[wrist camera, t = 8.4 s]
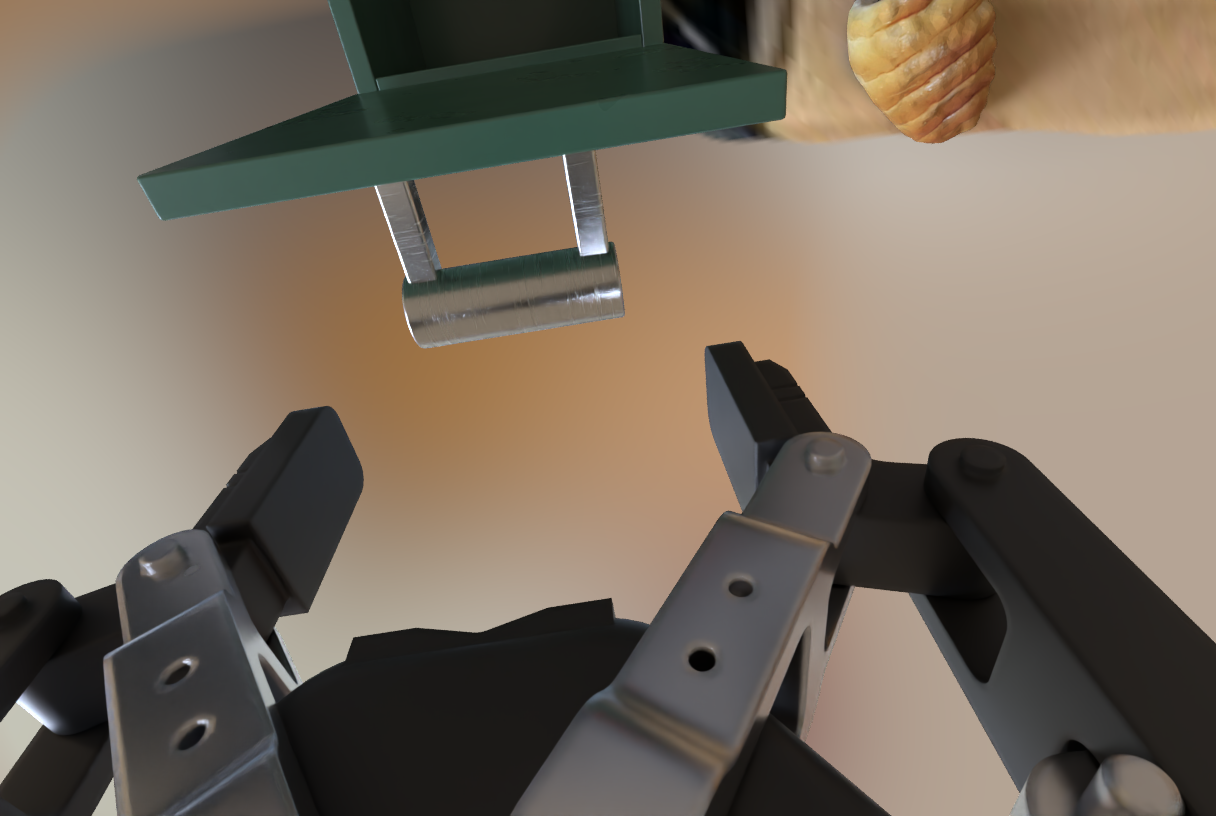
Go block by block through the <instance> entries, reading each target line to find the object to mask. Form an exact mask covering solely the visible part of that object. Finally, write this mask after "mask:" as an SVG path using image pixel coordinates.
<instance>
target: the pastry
mask: <svg viewBox="0 0 1216 816" xmlns="http://www.w3.org/2000/svg"><path fill="white" fill-rule="evenodd" d="M995 19H996V14H995V11H994V8H993V6H992V5H991V4H990V3H989V1H988V0H856V1H855V3H854V4H853V6H852V8H851V10H850V12H849V16H848V24H847V40H848V54H849V62H850V65H851V68H852V70H853V72H854V74H855V76H856V78H857V80H858V81H859V82H860V83H861V84H862V86H863V87H864V89H865V90H866V92H867V93H868V95H869V97H870V98H871V100H872V101H873V103H874V104H875V105H876V106H877V107H878V108H879V109H880V110H881V111H882V112H883V113H884V114H885V115H886V116H887V118H888V119H889V120H890V121H891V122H892V123H893V124H894V125H895V126H896V127H897V128H898V129H899V130H900V131H901V132H902V133H903V134H904V135H906V136H908V137H910V138H912V139H913V140H915V141H916V142H924V143H932V144H933V143H942V142H944V141H947V140H949V139H951V138H953V137H955V136H956V135H958V134H960V133H962V132H966V131H968V130H970V129H972V128H973V127H974V126H976V124H977V122H978V120H979V118H980V114H981V112H982V110H983V109H984V107H985V106H986V103H987V97H988V93H989V87H990V83H991V81H992V79H993V78H994V75H995V66H994V64H993V61H992V56H993V53H994V51H995V49H996V47H997V39H996V37H995V34H994V32H993V25H994V22H995Z"/></svg>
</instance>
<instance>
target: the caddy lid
mask: <svg viewBox="0 0 1216 816" xmlns="http://www.w3.org/2000/svg"><path fill="white" fill-rule="evenodd" d="M786 93H787V71H786V70H785V69H781V68H776V67H772V66H767V65H762V64H758V63H753V62H749V61H744V60H740V59H735V58H730V57H726V56H721V55H717V54H712V53H707V52H703V51H698V50H694V49H689V48H684V47H680V46H675V45H671V44H666V43H662V44H656V45H650V46H644V47H638V48H632V49H626V50H620V51H614V52H608V53H602V54H596V55H590V56H584V57H578V58H572V59H566V60H560V61H554V62H548V63H542V64H536V65H530V66H524V67H518V68H512V69H506V70H500V71H494V72H488V73H482V74H476V75H470V76H464V77H458V78H452V79H446V80H440V81H434V82H428V83H422V84H416V85H410V86H404V87H398V88H392V89H386V90H380V91H374V92H368V93H362V94H357V95H353V96H350V97H348V98H345V99H342V100H339V101H337V102H334V103H332V104H329V105H326V106H323V107H321V108H318V109H316V110H313V111H310V112H308V113H305V114H302V115H299V116H297V117H294V118H292V119H289V120H286V121H283V122H281V123H278V124H275V125H273V126H270V127H267V128H265V129H262V130H259V131H257V132H254V133H251V134H249V135H246V136H243V137H241V138H239V139H235V140H233V141H230V142H227V143H225V144H222V145H219V146H217V147H214V148H211V149H209V150H206V151H204V152H201V153H198V154H195V155H193V156H190V157H187V158H185V159H182V160H179V161H177V162H174V163H171V164H169V165H166V166H163V167H161V168H158V169H155V170H153V171H150V172H147V173H145V174H142V175H139V176H138V177H137V180H138V182H139V184H140V186H141V187H142V189H143V191H144V193H145V194H146V196H147V198H148V200H149V201H150V203H151V205H152V207H153V208H154V210H155V212H156V214H157V216H158V217H159V218H160V219H161V220H171V219H177V218H183V217H190V216H195V215H202V214H208V213H214V212H219V211H226V210H232V209H239V208H245V207H251V206H256V205H263V204H269V203H275V202H281V201H287V200H293V199H300V198H306V197H312V196H317V195H324V194H330V193H336V192H342V191H348V190H354V189H361V188H367V187H373V186H375V189H376V192H377V195H378V198H379V201H380V203H381V206H382V209H383V212H384V215H385V217H386V220H387V223H388V226H389V229H390V232H391V235H392V237H393V240H394V243H395V246H396V249H397V251H398V254H399V257H400V260H401V263H402V266H403V269H404V272H405V274H406V277H405V278H404V281H403V285H402V299H403V307H404V312H405V316H406V320H407V323H408V326H409V329H410V331H411V334H412V336H413V338H414V339H415V341H416V343H417V344H418V345H419V346H420V347H422V348H431V347H437V346H443V345H449V344H455V343H462V342H468V341H475V340H481V339H487V338H493V337H500V336H505V335H512V334H518V333H525V332H531V331H537V330H544V329H550V328H556V327H562V326H569V325H575V324H581V323H587V322H593V321H600V320H606V319H613V318H619V317H623V316H624V314H625V312H624V301H623V293H622V285H621V279H620V272H619V266H618V260H617V255H616V250H615V245H614V243H613V242H608V238H607V231H606V225H605V217H604V209H603V202H602V195H601V188H600V181H599V174H598V167H597V160H596V152H595V150H598V149H605V148H610V147H617V146H622V145H629V144H635V143H641V142H647V141H653V140H659V139H666V138H671V137H677V136H684V135H690V134H696V133H702V132H708V131H715V130H721V129H727V128H733V127H739V126H745V125H751V124H757V123H763V122H769V121H776V120H782V119H783V118H785V115H786ZM556 156H562V157H563V163H564V169H565V175H566V181H567V187H568V192H569V198H570V204H571V210H572V216H573V222H574V228H575V234H576V239H577V245H578V247H574V248H569V249H562V250H556V251H550V252H544V253H538V254H531V255H525V256H519V257H513V258H506V259H500V260H494V261H488V262H482V263H476V264H469V265H463V266H457V267H451V268H444V269H441V266H440V262H439V259H438V256H437V253H436V249H435V246H434V244H433V240H432V237H431V233H430V230H429V227H428V224H427V221H426V218H425V214H424V211H423V208H422V205H421V202H420V198H419V195H418V192H417V189H416V186H415V183H414V180H415V179H422V178H427V177H433V176H440V175H446V174H452V173H458V172H464V171H470V170H476V169H483V168H489V167H495V166H501V165H507V164H513V163H519V162H525V161H531V160H537V159H543V158H550V157H556Z"/></svg>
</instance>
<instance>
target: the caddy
mask: <svg viewBox="0 0 1216 816" xmlns="http://www.w3.org/2000/svg"><path fill="white" fill-rule="evenodd" d="M328 3H329V6H330V10H331V13H332V16H333V19H334V21H335V25H336V28H337V31H338V34H339V37H340V40H341V43H342V46H343V49H344V52H345V55H346V58H347V61H348V64H349V68H350V70H351V74H352V77H353V80H354V83H355V86H356V89H357V92H358V94H362V93H368V92H374V91H380V90H386V89H392V88H398V87H404V86H410V85H416V84H422V83H428V82H434V81H440V80H446V79H452V78H458V77H464V76H470V75H476V74H482V73H488V72H494V71H500V70H506V69H512V68H518V67H524V66H530V65H536V64H542V63H548V62H554V61H560V60H566V59H572V58H578V57H584V56H590V55H596V54H602V53H608V52H614V51H620V50H626V49H632V48H638V47H644V46H650V45H656V44H662V43H664V37H663V24H662V11H661V0H328Z"/></svg>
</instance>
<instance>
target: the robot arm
mask: <svg viewBox="0 0 1216 816" xmlns="http://www.w3.org/2000/svg"><path fill="white" fill-rule="evenodd" d="M705 371H706V387H707V405H708V416H709V422H710V427H711V431H712V435H713V438H714V440H715V443H716V446H717V448H718V451H719V453H720V456H721V458H722V461H723V463H724V466H725V468H726V471H727V474H728V476H729V479H730V481H731V484H732V486H733V489H734V491H735V494H736V496H737V499H738V501H739V504H740V507H741V509H742V511H743V512H742V514H738V513H735V512H732V511H726V512H724V513H723V514H722V515H721V516H720V517H719V519H718V520H717V522H716V524H715V525H714V526H713V528H712V529H711V531H710V532H709V534H708V536H707V537H706V539H705V540H704V542H703V544H702V545H701V546H700V548H699V550H698V551H697V553H696V554H695V556H694V557H693V559H692V560H691V562H690V564H689V565H688V567H687V568H686V570H685V571H684V573H683V574H682V576H681V577H680V579H679V581H678V582H677V584H676V585H675V587H674V588H673V590H672V592H671V593H670V594H669V596H668V598H667V599H666V601H665V602H664V604H663V605H662V607H661V608H660V610H659V612H658V613H657V615H656V616H655V618H654V619H653V621H652V623H651V624H650V625H649V624H646V623H643V622H639V621H634V620H629V619H619V618H615V613H614V608H613V603H612V599H611V598H609V599H602V600H595V601H588V602H582V603H575V604H569V605H563V606H556V607H550V608H546V609H543V610H540V611H538V612H535V613H532V614H530V615H527V616H525V617H522V618H519V619H517V620H514V621H511V622H509V623H506V624H503V625H500V626H498V627H495V628H492V629H490V630H487V631H484V632H478V633H472V632H460V631H459V632H458V631H448V630H436V629H423V628H412V629H406V630H399V631H393V632H387V633H380V634H373V635H367V636H361V637H354V638H353V640H352V643H351V646H350V649H349V652H348V654H347V658H346V660H345V661H344V662H341V663H339V664H336V665H334V666H332V667H330V668H328V669H326V670H324V671H322V672H320V673H319V674H317V675H315V676H314V677H312V678H310V679H308V680H307V681H305V682H304V683H302V680H301V678H300V676H299V674H298V672H297V669H296V667H295V665H294V663H293V660H292V658H291V656H290V654H289V652H288V649H287V647H286V645H285V643H284V641H283V638H282V637H281V635H280V634H279V632H278V631H277V630H276V628H275V627H274V626H275V624H276V622H277V620H278V618H279V617H282V616H289V615H296V614H302V613H308V612H309V609H310V607H311V605H312V602H313V600H314V598H315V596H316V593H317V591H318V589H319V587H320V585H321V582H322V580H323V578H324V576H325V573H326V571H327V569H328V567H329V564H330V562H331V560H332V558H333V555H334V553H335V551H336V549H337V546H338V544H339V542H340V539H341V537H342V535H343V533H344V531H345V528H346V526H347V524H348V522H349V519H350V517H351V515H352V513H353V510H354V508H355V506H356V503H357V501H358V499H359V497H360V495H361V492H362V489H363V481H364V479H363V470H362V466H361V464H360V461H359V459H358V457H357V455H356V453H355V450H354V448H353V446H352V444H351V442H350V440H349V438H348V436H347V433H346V431H345V429H344V427H343V425H342V423H341V421H340V418H339V416H338V414H337V413H336V411H335V410H334V409H333V408H331V407H329V406H324V407H318V408H311V409H305V410H299V411H293V412H291V413H289V414H288V415H287V417H286V418H285V420H284V421H283V422H282V424H281V425H280V426H279V428H278V429H277V431H276V432H275V433H274V435H273V436H272V437H271V438H269V439H268V440H267V441H266V442H264V443H263V444H262V445H260V446H259V447H258V448H257V449H255V450H254V451H253V452H252V453H250V454H249V455H248V457H247V458H246V459H245V461H244V462H243V463H242V465H241V466H240V467H239V469H238V470H237V474H234V475H233V476H232V478H231V479H230V480H229V482H228V483H227V484H226V485H227V488H223V490H222V491H221V492H220V494H219V495H218V496H217V497H216V499H215V500H214V501H213V503H212V504H211V505H210V507H209V508H208V509H207V511H206V512H205V513H204V515H203V516H202V517H201V518H200V520H199V521H198V523H197V524H196V525H195V526H194V528H193V529H192V530H185V531H181V532H177V533H174V534H171V535H168V536H166V537H164V538H162V539H159V540H158V541H156V542H154V543H152V544H150V545H149V546H147V547H146V548H144V549H143V550H141V551H140V552H139V553H137V554H136V555H135V556H134V557H132V558H131V559H130V560H129V561H128V562H127V563H126V564H125V565H124V567H123V568H122V569H121V570H120V572H119V574H118V576H117V579H116V583H115V584H112V585H109V586H107V587H104V588H101V589H98V590H96V591H93V592H90V593H87V594H84V595H82V596H79V597H76V598H74V597H73V596H72V595H71V594H70V593H69V592H68V591H67V590H66V589H65V587H63V585H62V584H61V583H59V582H58V581H57V580H52V579H45V580H38V581H34V582H30V583H27V584H24V585H21V586H19V587H17V588H14V589H12V590H10V591H8V592H6V593H4V594H2V595H1V596H0V722H1V721H2V719H3V718H4V717H5V716H6V714H7V713H8V712H9V710H10V709H11V708H12V707H13V705H14V704H15V703H16V702H17V703H18V704H19V705H20V706H22V707H23V708H24V709H25V710H26V711H28V712H29V713H30V714H31V715H32V716H34V717H35V718H36V719H37V720H39V721H40V722H41V723H42V724H43V725H42V727H41V728H40V729H39V731H38V732H37V734H36V735H35V736H34V738H33V739H32V741H31V742H30V744H29V745H28V746H27V748H26V749H25V751H24V752H23V753H22V755H21V756H20V758H19V759H18V761H17V762H16V763H15V765H14V766H13V768H12V769H11V770H10V772H9V773H8V775H7V776H6V778H5V779H4V780H3V782H2V783H1V784H0V816H92V814H93V812H94V810H95V809H96V807H97V805H98V803H99V801H100V800H101V798H102V796H103V794H104V793H105V791H106V789H107V787H108V785H109V784H110V782H111V780H112V778H113V777H114V787H115V797H116V808H117V816H891V815H890V814H888V813H887V812H886V811H885V810H884V809H883V808H881V807H880V806H879V805H878V804H877V803H875V802H874V801H873V800H872V799H871V798H870V797H868V796H867V795H866V794H865V793H864V792H862V791H861V790H860V789H859V788H858V787H857V786H855V785H854V784H853V783H852V782H851V781H850V780H848V779H847V778H846V777H845V776H844V775H842V774H841V773H840V772H839V771H838V770H836V769H835V768H834V767H833V766H832V765H831V764H829V763H828V762H827V761H826V760H825V759H824V758H822V757H821V756H820V755H819V754H817V753H816V752H815V751H814V750H813V749H812V748H810V747H809V746H808V745H807V744H806V743H805V741H806V738H807V735H808V732H809V729H810V726H811V723H812V720H813V717H814V713H815V710H816V706H817V702H818V698H819V693H820V689H821V684H822V680H823V676H824V673H825V669H826V666H827V663H828V661H829V658H830V655H831V652H832V649H833V646H834V644H835V641H836V638H837V635H838V633H839V630H840V627H841V624H842V621H843V619H844V616H845V613H846V610H847V607H848V605H849V602H850V599H851V596H852V593H853V591H854V588H855V586H856V587H864V588H873V589H882V590H890V591H899V592H908V593H909V595H910V597H911V598H912V600H913V602H914V604H915V606H916V607H917V609H918V611H919V613H920V615H921V616H922V618H923V620H924V621H925V624H926V625H927V627H928V629H929V631H930V633H931V634H932V636H933V638H934V640H935V642H936V643H937V645H938V647H939V649H940V651H941V652H942V654H943V656H944V658H945V660H946V661H947V663H948V665H949V667H950V668H951V670H952V672H953V674H954V676H955V677H956V679H957V681H958V683H959V685H960V687H961V688H962V690H963V692H964V694H965V696H966V697H967V699H968V701H969V703H970V705H971V706H972V708H973V710H974V712H975V714H976V715H977V717H978V719H979V721H980V723H981V724H982V726H983V728H984V730H985V732H986V733H987V735H988V737H989V739H990V740H991V742H992V744H993V746H994V748H995V749H996V751H997V753H998V755H999V756H1000V758H1001V760H1002V762H1003V764H1004V766H1005V767H1006V769H1007V771H1008V773H1009V775H1010V776H1011V778H1012V780H1013V782H1014V784H1015V785H1016V787H1017V789H1018V791H1019V793H1020V794H1019V796H1018V799H1017V800H1016V802H1015V804H1014V806H1013V808H1012V811H1011V812H1010V814H1009V816H1216V643H1215V642H1214V641H1213V640H1212V639H1211V638H1210V637H1209V636H1207V634H1206V633H1205V632H1203V631H1202V630H1201V629H1200V628H1199V627H1198V626H1197V625H1196V624H1195V623H1194V622H1193V621H1192V620H1191V619H1190V618H1189V617H1188V616H1187V615H1186V614H1185V613H1184V612H1183V611H1182V610H1181V609H1180V608H1179V607H1178V606H1177V605H1176V604H1175V603H1174V602H1173V601H1172V600H1171V599H1170V598H1169V597H1168V596H1167V595H1166V594H1165V593H1164V592H1163V591H1162V590H1161V589H1160V588H1159V587H1158V586H1157V585H1156V584H1154V582H1153V581H1151V579H1149V578H1148V577H1147V576H1146V575H1145V574H1144V573H1143V572H1142V571H1141V570H1140V569H1139V568H1138V567H1137V566H1136V565H1135V564H1134V563H1133V562H1132V561H1131V560H1130V559H1129V558H1128V557H1127V556H1126V555H1125V554H1124V553H1123V552H1122V551H1121V550H1120V549H1119V548H1118V547H1117V546H1116V545H1115V544H1114V543H1113V542H1112V541H1111V540H1110V539H1109V538H1108V537H1107V536H1106V535H1105V534H1104V533H1103V532H1102V531H1101V530H1099V528H1098V527H1097V526H1096V525H1095V524H1093V523H1092V522H1091V521H1090V520H1089V519H1088V518H1087V517H1086V516H1085V515H1084V514H1083V513H1082V512H1081V511H1080V510H1079V509H1078V508H1077V507H1076V506H1075V505H1074V504H1073V503H1072V502H1071V501H1070V500H1069V499H1068V498H1067V497H1066V496H1065V495H1064V494H1063V493H1062V492H1061V491H1060V490H1059V489H1058V488H1057V487H1056V486H1055V485H1054V484H1053V483H1052V482H1051V481H1050V480H1049V479H1048V478H1047V477H1046V476H1045V475H1043V473H1042V472H1041V471H1040V470H1038V469H1037V468H1036V467H1035V466H1034V465H1033V464H1032V463H1031V462H1030V461H1029V460H1028V459H1027V458H1026V457H1025V456H1023V455H1022V454H1020V453H1019V452H1017V451H1016V450H1014V449H1012V448H1009V447H1007V446H1005V445H1002V444H999V443H996V442H993V441H988V440H983V439H975V438H959V439H952V440H948V441H944V442H942V443H940V444H938V445H936V446H935V447H934V448H933V449H932V451H931V452H930V454H929V458H928V463H927V464H912V463H894V462H883V461H878V460H873V459H871V457H870V454H869V452H868V451H867V449H866V448H865V447H864V446H863V445H862V444H860V443H859V442H857V441H856V440H854V439H852V438H850V437H847V436H844V435H840V434H837V433H832V432H831V430H830V429H829V428H828V426H827V425H826V423H825V422H824V421H823V419H822V418H821V416H820V415H819V413H818V412H817V411H816V409H815V408H814V406H813V405H812V403H811V402H810V401H809V399H808V398H806V397H805V394H804V392H803V391H802V390H801V388H800V386H798V385H797V383H796V381H795V380H794V378H793V377H792V375H791V374H790V372H789V371H788V370H787V369H785V368H784V367H782V366H780V365H778V364H776V363H775V362H773V361H771V360H763V361H757V362H754V360H753V359H752V357H751V356H750V354H749V352H748V351H747V349H746V347H745V346H744V344H743V343H742V342H741V341H736V342H731V343H724V344H718V345H711V346H706V348H705Z"/></svg>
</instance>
